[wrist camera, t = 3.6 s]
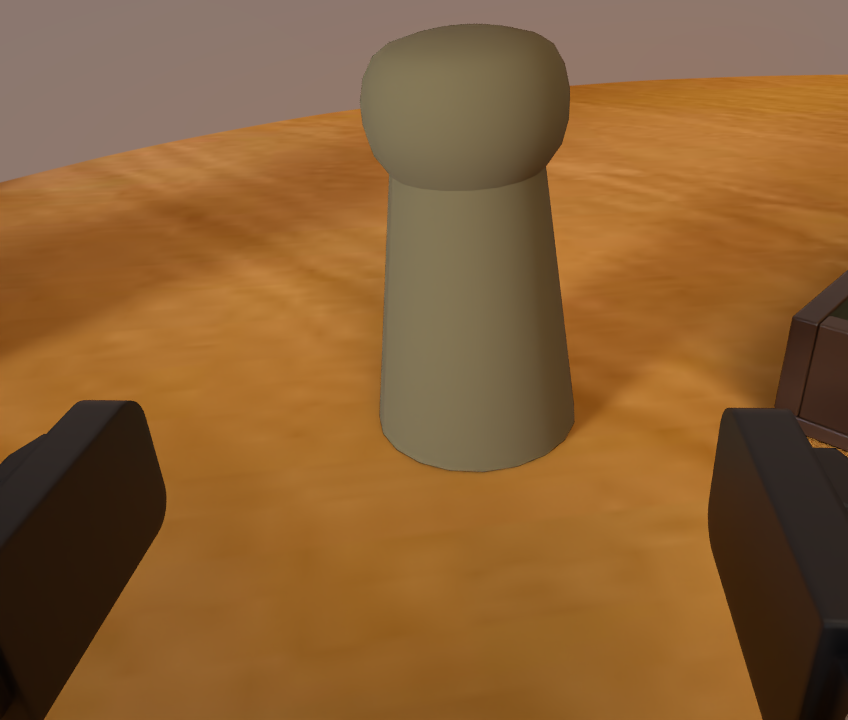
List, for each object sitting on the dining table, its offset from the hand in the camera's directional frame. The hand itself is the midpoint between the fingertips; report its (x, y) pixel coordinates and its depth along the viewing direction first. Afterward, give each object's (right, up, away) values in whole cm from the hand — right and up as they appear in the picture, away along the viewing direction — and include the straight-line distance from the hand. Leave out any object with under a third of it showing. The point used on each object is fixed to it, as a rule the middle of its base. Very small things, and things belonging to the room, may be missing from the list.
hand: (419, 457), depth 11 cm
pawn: (+2, 0, +13) cm, 13 cm away
